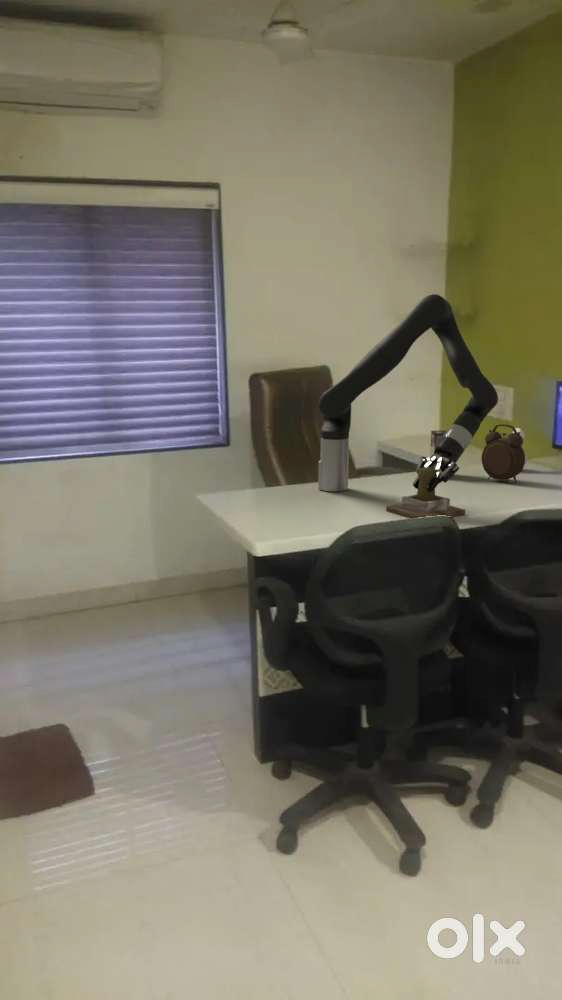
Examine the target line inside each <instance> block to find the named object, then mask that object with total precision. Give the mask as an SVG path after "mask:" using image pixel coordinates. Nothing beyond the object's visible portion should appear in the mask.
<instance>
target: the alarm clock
mask: <svg viewBox="0 0 562 1000" xmlns="http://www.w3.org/2000/svg"><path fill="white" fill-rule="evenodd" d="M499 427H507V428H510V429H512V430H513V431H514V433H512V432H513V431H512V432H510V433H509V434H508V435H507V433H506V432H505V433H504V432H502V433H500V432H499V431H496V430H497V429H498V428H499ZM515 428H516V427H514V426H513V425H510V424H502V423H501V424H496V425H495V426H494V427H493V429H489V430H488V433H487V434H486V435H485V437H484V443H485V444H486V445H485V446H484V448H483V450H482V453H481V464H482V468H483V470H484V471H485V473H486V474H487V475H488V478H487V480H490V479H491V478H492V479H493V480H497V481H501V480H502V481H503V480H506V481H507V483H508V484H509V483H510V481H509V479H513V480H514V482H515V483H518V481H517V479H516V478H517V477H516V476H518V475H519V474H521V473H522V471H523V469H524V467H525V465H526V464H525V455H526V454H525V451H524V449H523V443H524V439H523V438H522V436H521V435H519V434H520V432H518V433H517V431H516V429H515Z"/></svg>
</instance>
